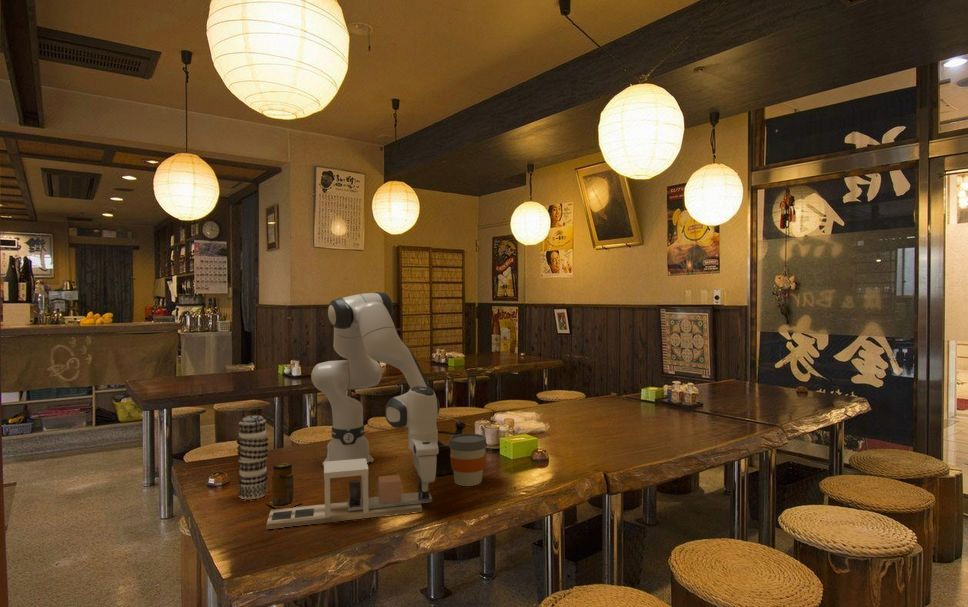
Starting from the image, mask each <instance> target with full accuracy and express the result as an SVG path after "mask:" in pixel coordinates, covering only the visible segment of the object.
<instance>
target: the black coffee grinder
mask: <svg viewBox="0 0 968 607" xmlns="http://www.w3.org/2000/svg"><path fill="white" fill-rule="evenodd" d="M454 426H455V431H454V432H453V431H446V430H438V434H444V435H445V434H447V435H451V436H454V435H458V434H463V431H464V430H465V429H466V427H467V426H466V422H464V421H463V420H458V421H455V423H454ZM438 449H439V453H438V454H436V457H437V462H436V477H439V476H438V475H442V476H444V475H443V474H447V475H450V474H449V473H451V474H454V473H453V469H452V466H451V459H450V454H451V450H450V447H449V444H448V443H447V442H444V441H443V440H440V439H438Z"/></svg>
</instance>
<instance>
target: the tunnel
mask: <svg viewBox="0 0 968 607" xmlns="http://www.w3.org/2000/svg"><path fill="white" fill-rule="evenodd" d="M323 462H324V461H323ZM369 475H370V474H369V465H368V464H367V460H366V458H363V459H351V460H340V461H328V462H324V466H323V479H324V504H325V518H328V517H330V504H331V479H336V478H337V479H338V478H346V477H347V478H348V477H358V476H359V477H360V479H361V481H360V493H361V498H363V514H364V513H369V508H368V497H369Z"/></svg>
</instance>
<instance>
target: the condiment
mask: <svg viewBox="0 0 968 607" xmlns="http://www.w3.org/2000/svg"><path fill="white" fill-rule="evenodd" d="M272 473H273V474H272V476H271V491H272V493H271V499H272V500H271V503H273V505H274V506H285V505H288V504H291V503H292V502H293V500H294V490H295V489H294V472H293V465H292V463H291V462H278V463H276V464H274V465H273V472H272Z"/></svg>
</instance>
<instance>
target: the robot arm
mask: <svg viewBox="0 0 968 607" xmlns="http://www.w3.org/2000/svg"><path fill="white" fill-rule="evenodd" d="M393 305H394V304H393V301H392V299H391V297H390V296H389V295H388V294H387V293H385V292H382V291H381V292H379V291H375V292H367V293H358V294H354V295H349V296H345V297H338V298H335V299H333V300H330V303H329V305H328V306H327V316H328V320H329V322H330V324H331V326H333V345H332V346H333V349H334V352H336V353H337V355H338V356H340V357H341V358H344V359H343V360H342V359H341V360H328V361H327V360H326V361H323V362H320V363H319V362H318V363H317V364H315V366H314V367H313V369H312V370H311V375H310V376H311V382H312V384H313V386H314V387H315V388H316V389H317V391H320V392H321V393H323V395H324V396H325V397H326V398H327V399H328V401H329V405H330V407H331V413H332V414H331V417H332V427H331V440H329V442H328V443H327V445H326V450H327V454H326V455H327V457H326V458H325V459H324V461H322V465H323V466H322V465H321V466H322V467H324V462H328V461H340V460H351V459H363V458H366V460H367V463H368V462H371V463H373V462H372V461H374V462H375V458H373V456H371V455H370V448H369V445H370V444H369V443H370V442H369V439H368V438H366V437H365V431H366V430H365V424H364V407H363V405H362V403H361V401H360V400H358V399H356V398H353V397H351V396H349V395H347V393H346V391H347V390H358V389H361V390H362V389H368V388H371V387H375V386H378V385H379V383H380V381H381V380H382V377H383V369H382V366H381V365H380V363H383V364H385V365H386V364H387V365H389V366H392V367H394V368H396V369H397V370H399V371H400V372H401V373H402V374H403V376H404V378H405V380H406V382H407V384H408V387H409V390H408V391H407V392H405V393H403V394H400V395H397V396H393V397H392V398H389V400H387V403H386V405H385V408H384V415H385V420H386V421H387V423H388V424H389V425H390V426H391V427H393V428H395V429H396V428H397V429H399V428H400V429H402V428H407V429H408V431H407V444H408V445H407V448H408V450H410V451H411V452H412V464H413V466H414V467H415V470H416V473H417V476H418V475H419V476H420V478H421V480H422V484H421V487H422V488H421V489H422V491H423V492H426V491H428V484H429V485H430V483H434V482H435V480H436V478H437V476H436V462H437V457H436V454H438V453H439V449H438V440H439V435H438V434H439V433H438V431H439V430H438V426H437V421H438V418H439V417H438V416H439V413H440V407H441V405H440V401H439V399H438V397H437V395H436V393H435V390H434V389H432V388H431V387H430V385H429V382H428V381H427V379H426V376H425V374H424V372H423V370H422V368H421V366H420V364H419V363H418V360H417V358H416V357H415V355H414V353H413V351H412V350H411V349H410V348H409V347H408V346H406V344H405V343H404V342H403V341H402V339H401V338H400V336H399V334H398V332H397V329H396V327H395V323H394V321H393V318H392V316H393V312H394V306H393ZM368 464H369V463H368Z"/></svg>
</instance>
